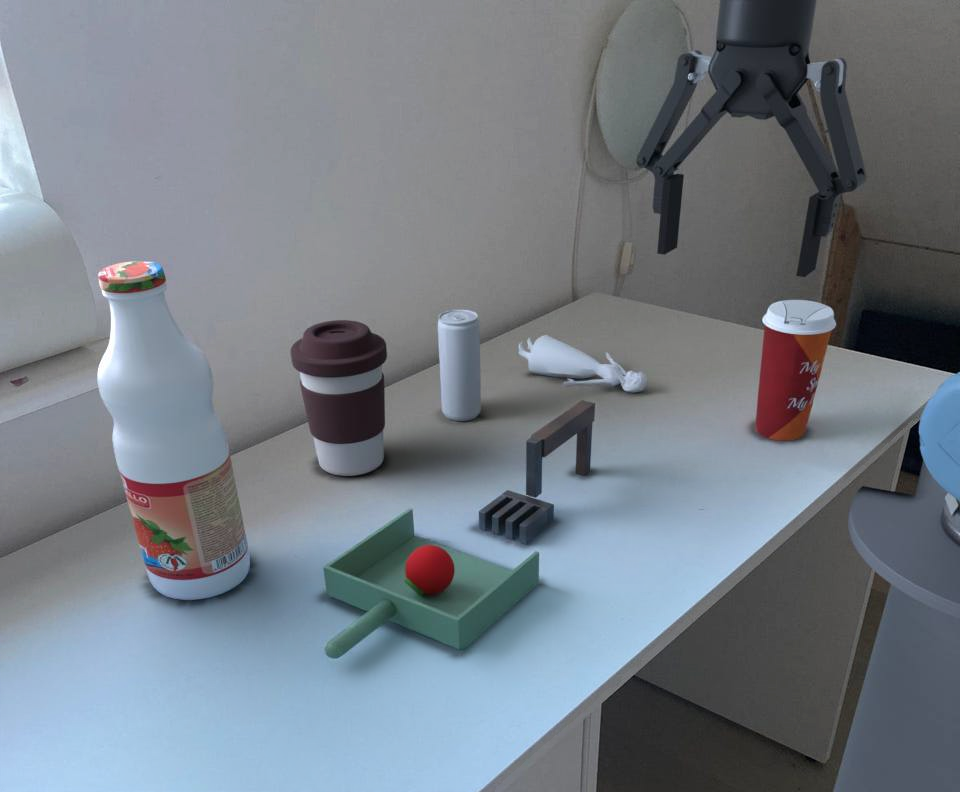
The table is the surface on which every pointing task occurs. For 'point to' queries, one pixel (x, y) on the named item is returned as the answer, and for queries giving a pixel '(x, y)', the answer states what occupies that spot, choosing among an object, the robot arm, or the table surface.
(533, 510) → the fork
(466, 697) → the table surface
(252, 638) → the table surface
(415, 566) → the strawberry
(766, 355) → the paper cup
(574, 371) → the woman figurine
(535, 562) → the green dustpan
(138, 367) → the fruit juice
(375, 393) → the coffee cup
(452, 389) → the beverage can
